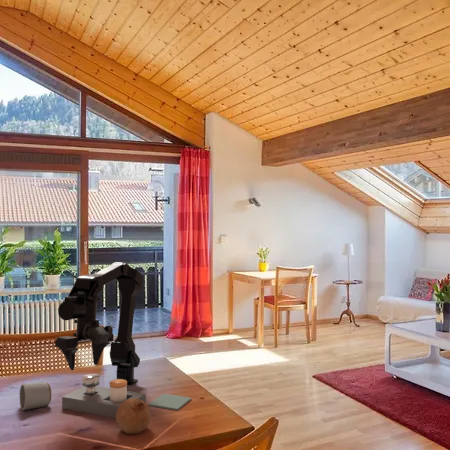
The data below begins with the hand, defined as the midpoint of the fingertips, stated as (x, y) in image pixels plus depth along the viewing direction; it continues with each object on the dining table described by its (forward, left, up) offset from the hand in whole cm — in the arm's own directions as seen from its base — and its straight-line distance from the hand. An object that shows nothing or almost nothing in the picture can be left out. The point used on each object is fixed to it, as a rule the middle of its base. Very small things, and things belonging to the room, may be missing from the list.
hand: (84, 367), depth 156 cm
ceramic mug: (+6, -15, -12) cm, 20 cm away
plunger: (-1, +2, -10) cm, 10 cm away
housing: (-1, +7, -12) cm, 14 cm away
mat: (-12, +24, -12) cm, 29 cm away
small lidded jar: (-1, +12, -12) cm, 17 cm away
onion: (+10, +24, -12) cm, 29 cm away
